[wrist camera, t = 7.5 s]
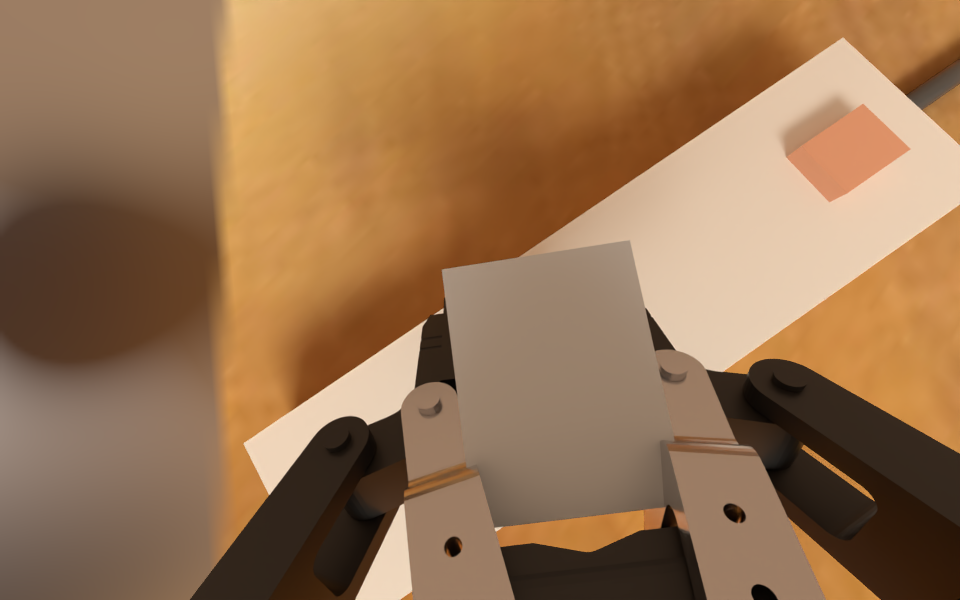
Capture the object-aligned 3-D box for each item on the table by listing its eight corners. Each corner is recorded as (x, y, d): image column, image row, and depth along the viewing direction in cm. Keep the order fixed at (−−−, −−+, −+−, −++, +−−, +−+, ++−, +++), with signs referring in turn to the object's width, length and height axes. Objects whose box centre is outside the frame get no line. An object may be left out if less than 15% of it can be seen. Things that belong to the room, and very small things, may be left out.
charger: (480, 324, 16) (441, 269, 7) (559, 312, 16) (629, 240, 7) (495, 430, 16) (473, 529, 6) (578, 419, 15) (688, 503, 6)
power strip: (972, -33, 20) (1098, -141, 15) (1103, 73, 18) (1282, -15, 14) (293, 428, 18) (228, 447, 14) (376, 584, 17) (331, 657, 13)
